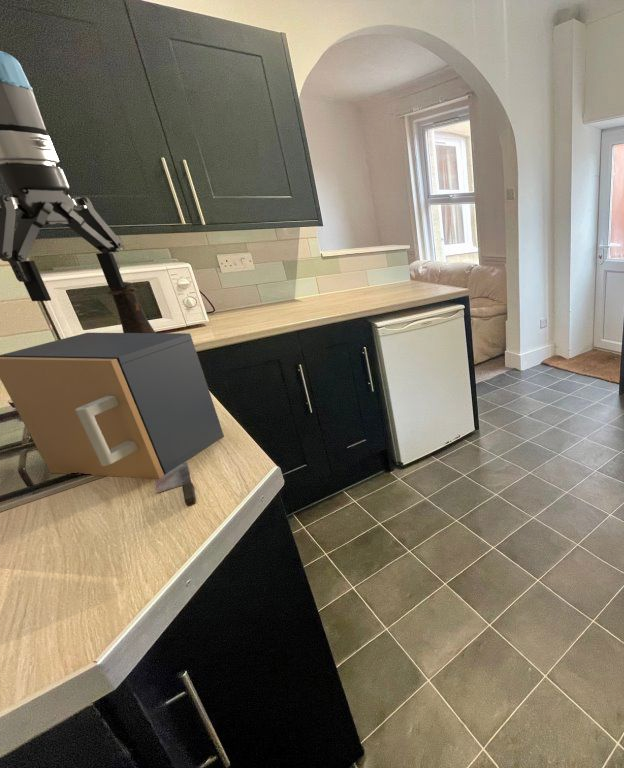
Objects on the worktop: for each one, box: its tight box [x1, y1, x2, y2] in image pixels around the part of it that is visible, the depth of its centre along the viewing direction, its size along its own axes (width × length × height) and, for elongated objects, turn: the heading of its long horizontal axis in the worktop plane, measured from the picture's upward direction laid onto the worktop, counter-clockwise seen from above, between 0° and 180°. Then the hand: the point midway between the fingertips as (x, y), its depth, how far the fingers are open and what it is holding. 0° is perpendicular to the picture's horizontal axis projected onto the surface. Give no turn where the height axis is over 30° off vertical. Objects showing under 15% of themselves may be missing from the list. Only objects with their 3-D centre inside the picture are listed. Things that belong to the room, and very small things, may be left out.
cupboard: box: [0, 332, 225, 474], centre depth 78 cm, size 14×22×22 cm, turn 83°
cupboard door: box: [0, 357, 164, 480], centre depth 69 cm, size 6×22×22 cm, turn 83°
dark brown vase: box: [106, 281, 157, 333], centre depth 111 cm, size 18×18×28 cm
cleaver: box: [155, 462, 197, 507], centre depth 72 cm, size 16×1×5 cm
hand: (82, 293), depth 77 cm, fingers open, 13 cm apart
